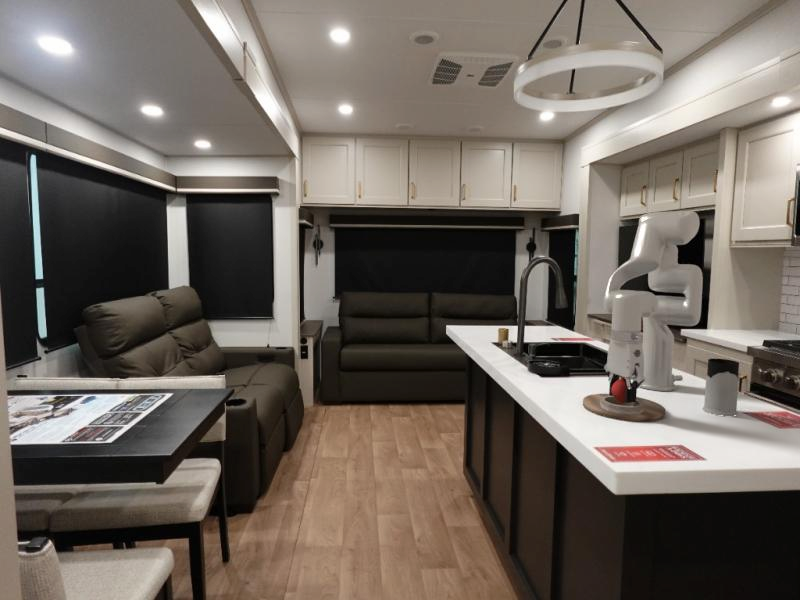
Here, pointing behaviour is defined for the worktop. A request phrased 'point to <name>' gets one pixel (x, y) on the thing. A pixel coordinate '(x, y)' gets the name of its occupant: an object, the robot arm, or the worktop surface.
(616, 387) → the red rounded piece
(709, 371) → the glass holder
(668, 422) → the worktop surface
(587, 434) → the worktop surface
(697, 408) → the worktop surface
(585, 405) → the carrier plate
